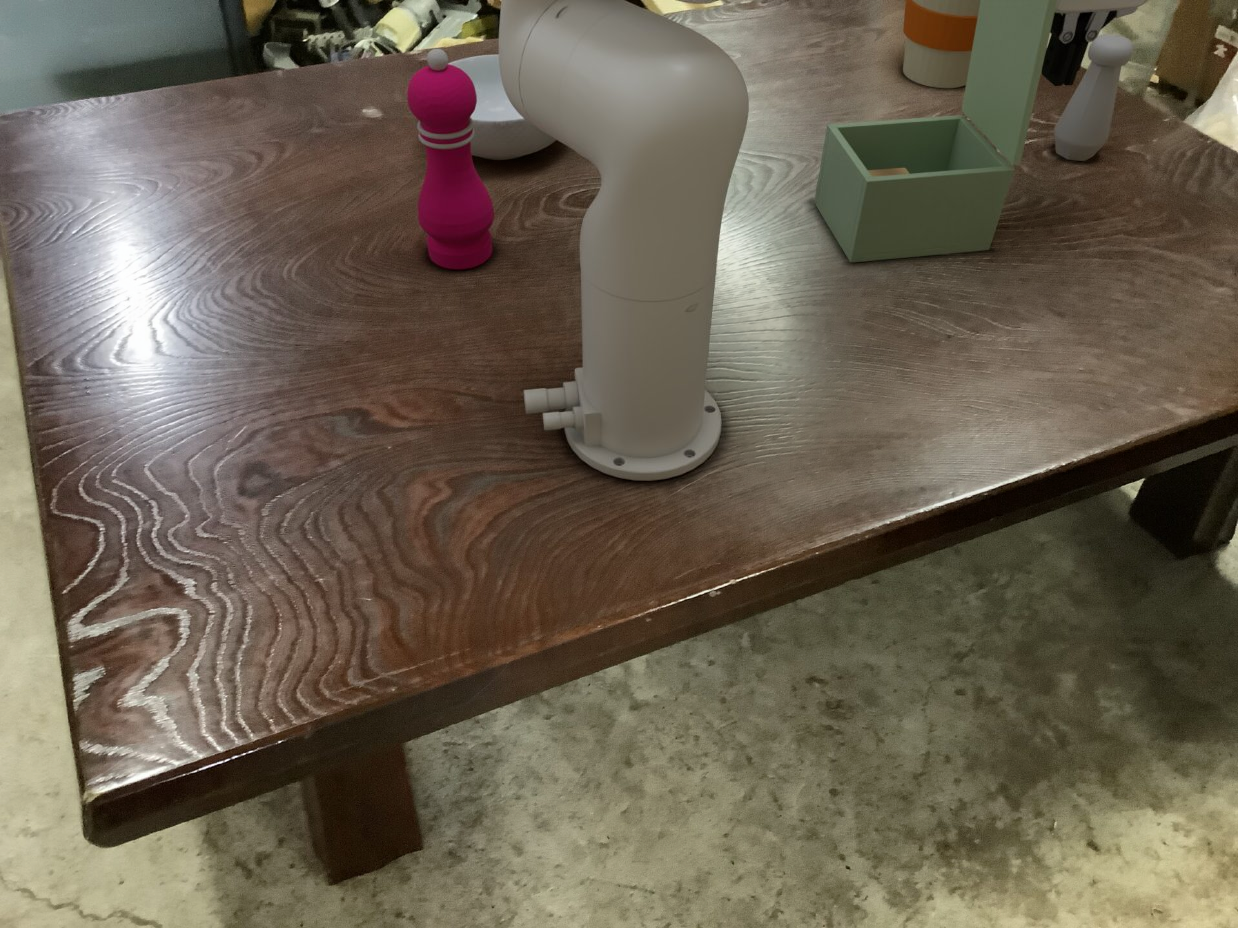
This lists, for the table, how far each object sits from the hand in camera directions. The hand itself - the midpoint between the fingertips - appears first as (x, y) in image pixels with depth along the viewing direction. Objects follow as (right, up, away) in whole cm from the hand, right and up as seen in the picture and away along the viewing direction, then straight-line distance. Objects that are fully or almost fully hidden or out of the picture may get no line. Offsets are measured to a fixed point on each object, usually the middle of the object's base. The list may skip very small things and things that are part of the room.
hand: (1056, 79), depth 93 cm
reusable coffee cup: (0, +15, +36) cm, 39 cm away
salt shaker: (+11, -1, +20) cm, 23 cm away
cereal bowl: (-55, 0, +21) cm, 59 cm away
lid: (-6, +1, -2) cm, 7 cm away
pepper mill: (-57, -16, +4) cm, 59 cm away
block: (-14, -11, +8) cm, 20 cm away
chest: (-12, -12, +9) cm, 19 cm away
